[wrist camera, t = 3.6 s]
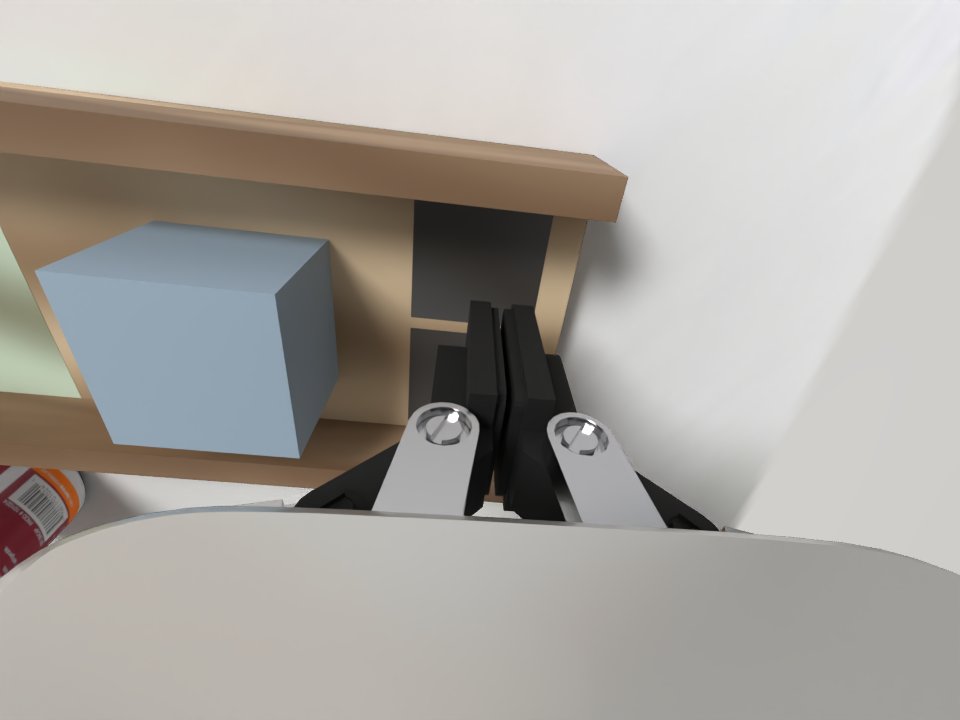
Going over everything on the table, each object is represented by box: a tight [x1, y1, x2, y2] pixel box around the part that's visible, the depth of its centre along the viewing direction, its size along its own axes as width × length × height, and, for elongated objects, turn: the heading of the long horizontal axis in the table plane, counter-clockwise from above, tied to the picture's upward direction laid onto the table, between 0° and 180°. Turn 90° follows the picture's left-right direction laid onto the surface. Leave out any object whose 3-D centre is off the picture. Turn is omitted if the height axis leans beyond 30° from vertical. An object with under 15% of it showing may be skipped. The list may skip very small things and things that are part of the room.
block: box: [34, 220, 339, 459], centre depth 12 cm, size 5×5×4 cm
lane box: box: [0, 82, 628, 503], centre depth 13 cm, size 11×24×4 cm, turn 84°
